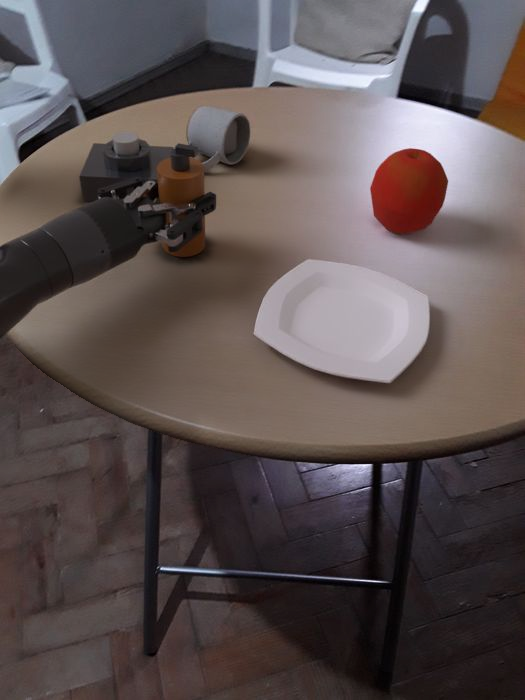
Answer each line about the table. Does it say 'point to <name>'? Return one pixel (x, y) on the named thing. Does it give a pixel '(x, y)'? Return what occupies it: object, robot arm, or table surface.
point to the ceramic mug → (218, 135)
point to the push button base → (119, 167)
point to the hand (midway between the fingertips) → (196, 190)
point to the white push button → (126, 143)
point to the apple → (408, 191)
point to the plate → (345, 320)
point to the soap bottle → (182, 189)
